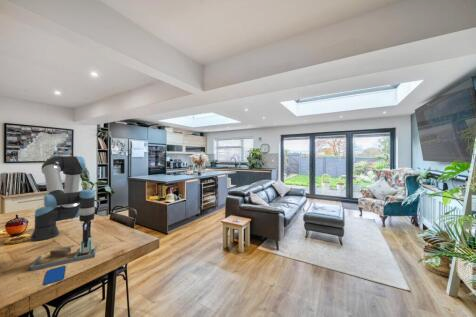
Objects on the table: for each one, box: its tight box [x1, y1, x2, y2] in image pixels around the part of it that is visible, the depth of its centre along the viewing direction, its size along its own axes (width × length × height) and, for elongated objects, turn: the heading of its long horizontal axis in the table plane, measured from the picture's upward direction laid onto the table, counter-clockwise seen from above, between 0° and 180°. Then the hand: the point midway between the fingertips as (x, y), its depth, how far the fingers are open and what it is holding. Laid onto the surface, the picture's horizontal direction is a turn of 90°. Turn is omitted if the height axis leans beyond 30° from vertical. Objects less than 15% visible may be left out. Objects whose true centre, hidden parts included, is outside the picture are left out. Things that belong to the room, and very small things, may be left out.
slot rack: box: [28, 244, 98, 272], centre depth 113 cm, size 14×28×2 cm, turn 122°
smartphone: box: [42, 265, 67, 286], centre depth 96 cm, size 7×1×15 cm
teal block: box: [80, 237, 93, 254], centre depth 119 cm, size 5×5×7 cm
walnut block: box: [49, 246, 72, 258], centre depth 117 cm, size 4×8×5 cm
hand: (86, 250), depth 119 cm, fingers closed on teal block, 5 cm apart
